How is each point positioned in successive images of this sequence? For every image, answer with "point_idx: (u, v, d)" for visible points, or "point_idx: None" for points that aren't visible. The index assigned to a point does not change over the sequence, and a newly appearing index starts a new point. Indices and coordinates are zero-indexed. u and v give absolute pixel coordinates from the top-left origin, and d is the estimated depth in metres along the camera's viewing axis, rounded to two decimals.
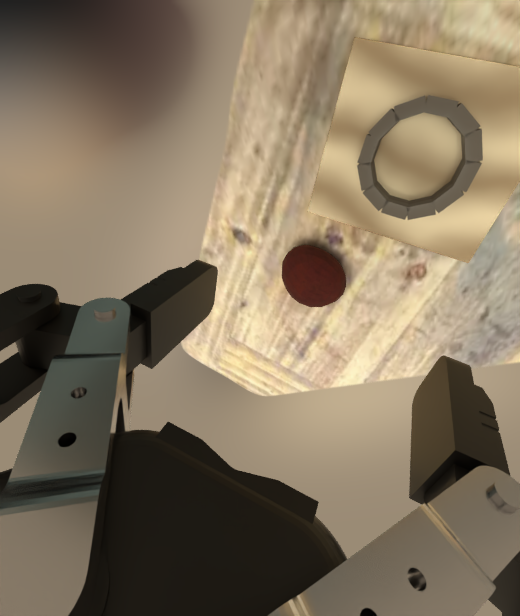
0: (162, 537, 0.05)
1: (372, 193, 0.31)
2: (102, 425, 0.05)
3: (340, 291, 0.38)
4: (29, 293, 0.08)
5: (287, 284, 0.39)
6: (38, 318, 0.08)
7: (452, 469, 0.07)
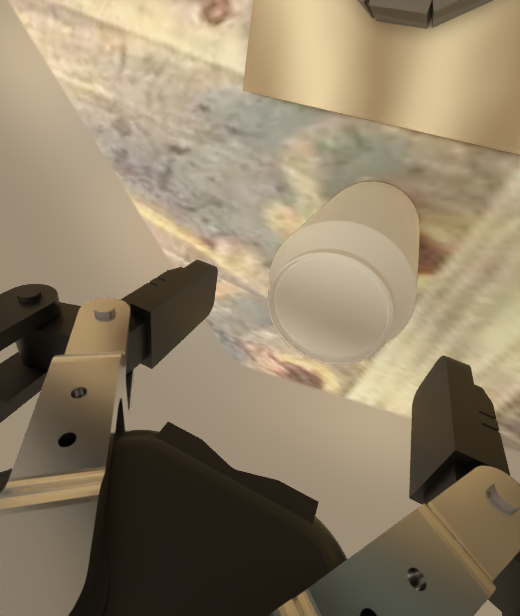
0: (163, 537, 0.05)
1: None
2: (102, 425, 0.05)
3: None
4: (29, 293, 0.08)
5: None
6: (38, 318, 0.08)
7: (452, 469, 0.07)
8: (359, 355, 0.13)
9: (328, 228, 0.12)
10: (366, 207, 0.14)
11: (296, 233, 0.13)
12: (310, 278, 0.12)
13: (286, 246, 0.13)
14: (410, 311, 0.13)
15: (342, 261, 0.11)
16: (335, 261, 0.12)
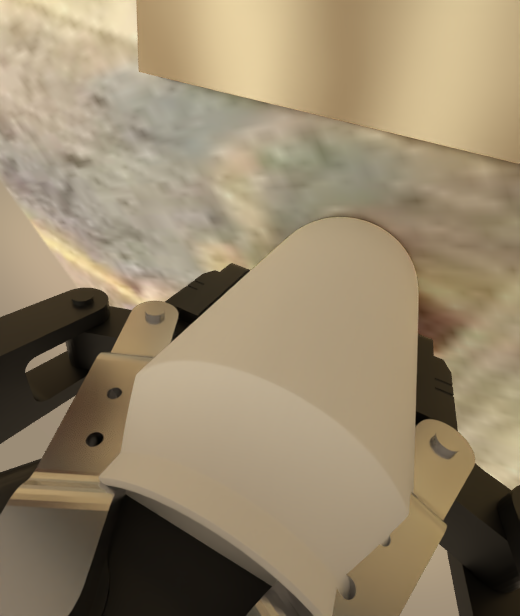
0: (162, 537, 0.05)
1: None
2: None
3: None
4: (82, 297, 0.08)
5: None
6: (92, 321, 0.08)
7: None
8: None
9: (194, 386, 0.05)
10: (309, 300, 0.07)
11: (144, 373, 0.06)
12: None
13: None
14: None
15: (207, 509, 0.04)
16: (191, 505, 0.04)
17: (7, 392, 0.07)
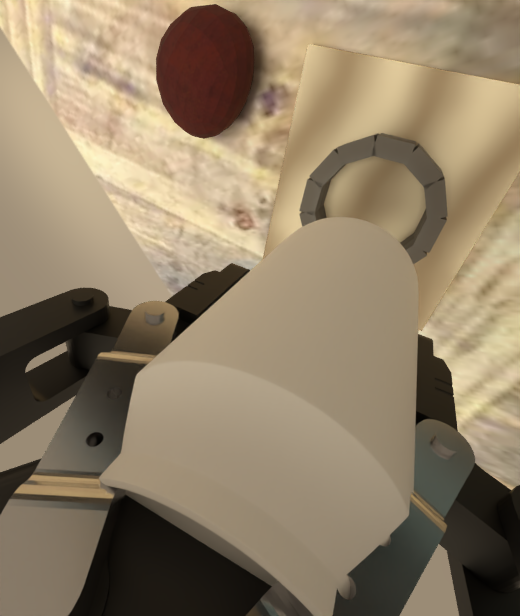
0: (162, 537, 0.05)
1: (332, 165, 0.23)
2: None
3: (193, 133, 0.25)
4: (82, 297, 0.08)
5: (177, 27, 0.21)
6: (92, 321, 0.08)
7: None
8: None
9: (194, 386, 0.05)
10: (309, 300, 0.07)
11: (144, 373, 0.06)
12: None
13: None
14: None
15: (207, 510, 0.04)
16: (192, 505, 0.04)
17: (7, 392, 0.07)
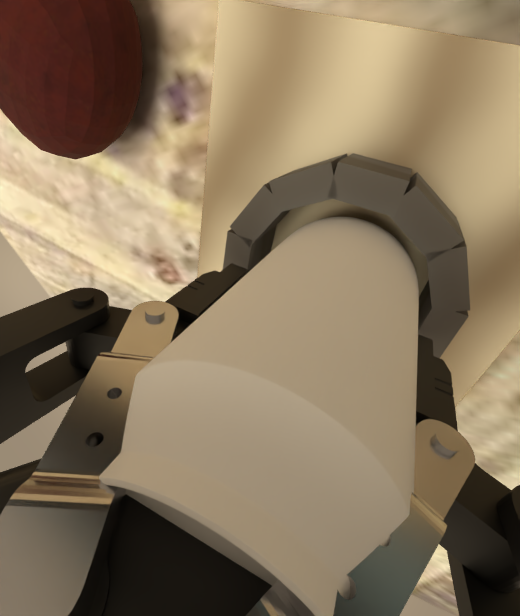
0: (162, 537, 0.05)
1: (264, 210, 0.13)
2: None
3: None
4: (82, 297, 0.08)
5: None
6: (92, 321, 0.08)
7: None
8: None
9: (194, 385, 0.05)
10: (309, 300, 0.07)
11: (144, 372, 0.06)
12: None
13: None
14: None
15: (208, 510, 0.04)
16: (192, 504, 0.04)
17: (7, 392, 0.07)
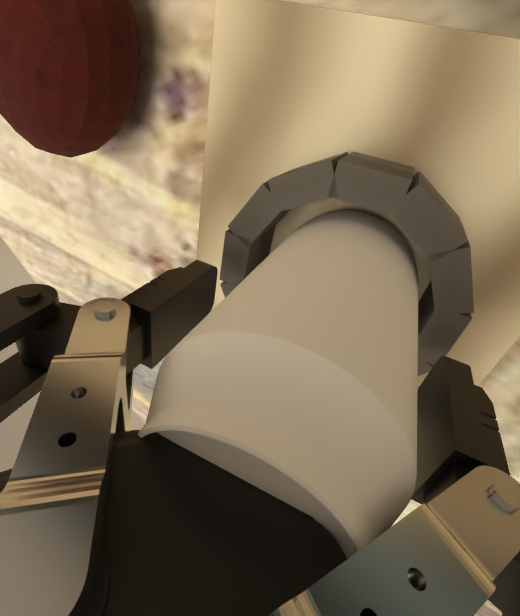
0: (162, 537, 0.05)
1: (262, 210, 0.13)
2: (102, 425, 0.05)
3: (46, 151, 0.15)
4: (29, 293, 0.08)
5: None
6: (38, 318, 0.08)
7: (452, 469, 0.07)
8: None
9: (235, 350, 0.06)
10: (325, 282, 0.08)
11: (185, 343, 0.07)
12: None
13: (167, 367, 0.07)
14: (404, 508, 0.06)
15: (252, 447, 0.05)
16: (239, 443, 0.05)
17: None
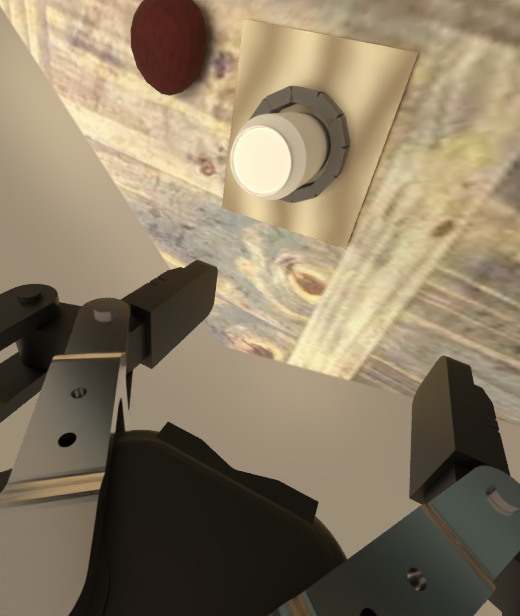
0: (162, 537, 0.05)
1: (263, 110, 0.30)
2: (102, 425, 0.05)
3: (161, 90, 0.33)
4: (29, 293, 0.08)
5: (145, 6, 0.29)
6: (38, 318, 0.08)
7: (452, 469, 0.07)
8: (278, 188, 0.25)
9: (260, 117, 0.24)
10: (284, 113, 0.26)
11: (245, 123, 0.25)
12: (251, 143, 0.24)
13: (240, 131, 0.25)
14: (303, 163, 0.24)
15: (265, 130, 0.23)
16: (262, 131, 0.23)
17: None
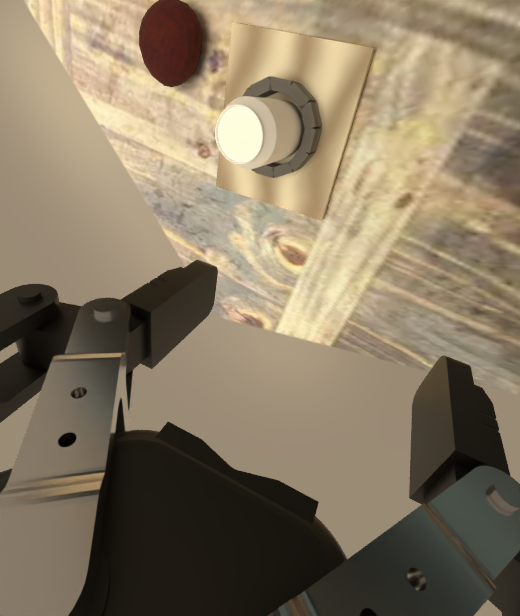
0: (162, 537, 0.05)
1: None
2: (102, 425, 0.05)
3: (164, 82, 0.39)
4: (29, 293, 0.08)
5: (151, 12, 0.35)
6: (38, 318, 0.08)
7: (452, 469, 0.07)
8: (253, 156, 0.30)
9: (239, 99, 0.30)
10: (261, 97, 0.31)
11: (227, 105, 0.31)
12: (231, 119, 0.30)
13: None
14: (274, 136, 0.30)
15: (242, 108, 0.29)
16: (239, 109, 0.29)
17: None
